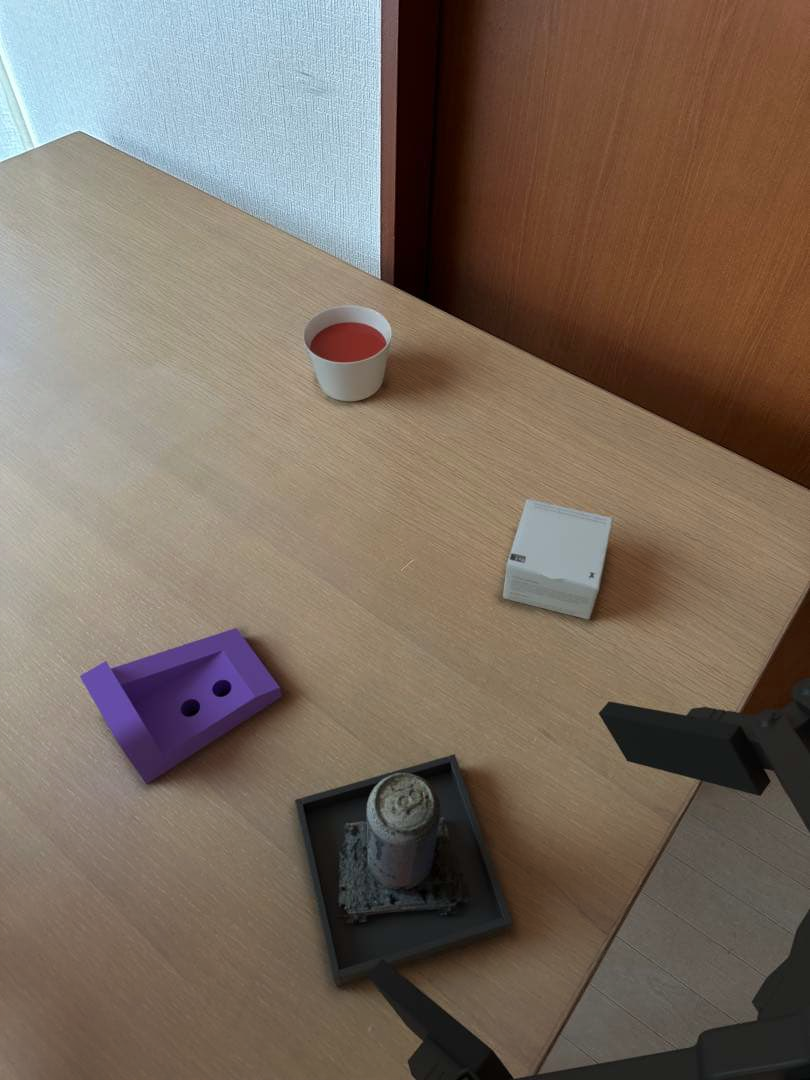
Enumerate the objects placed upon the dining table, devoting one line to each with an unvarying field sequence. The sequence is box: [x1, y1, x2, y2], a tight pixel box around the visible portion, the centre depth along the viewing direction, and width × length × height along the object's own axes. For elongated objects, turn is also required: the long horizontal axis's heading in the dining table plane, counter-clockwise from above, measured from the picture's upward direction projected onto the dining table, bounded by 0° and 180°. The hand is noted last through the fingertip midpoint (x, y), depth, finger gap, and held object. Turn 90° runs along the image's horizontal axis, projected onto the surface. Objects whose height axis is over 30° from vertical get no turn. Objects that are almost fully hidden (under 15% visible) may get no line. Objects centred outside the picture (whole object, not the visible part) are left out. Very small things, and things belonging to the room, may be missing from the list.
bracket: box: [79, 627, 283, 785], centre depth 64 cm, size 12×7×7 cm, turn 127°
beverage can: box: [336, 773, 472, 924], centre depth 53 cm, size 9×8×12 cm
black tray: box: [294, 754, 513, 988], centre depth 58 cm, size 12×12×3 cm
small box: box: [502, 498, 614, 621], centre depth 72 cm, size 8×8×5 cm
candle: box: [302, 304, 393, 402], centre depth 86 cm, size 9×9×6 cm
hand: (515, 850), depth 32 cm, fingers open, 13 cm apart
